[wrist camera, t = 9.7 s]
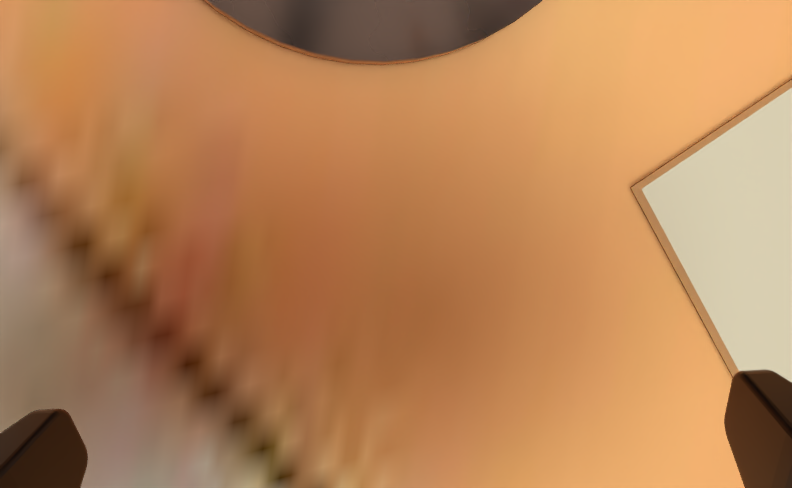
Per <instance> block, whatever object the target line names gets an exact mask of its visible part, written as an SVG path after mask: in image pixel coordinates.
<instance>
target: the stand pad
mask: <svg viewBox="0 0 792 488" xmlns="http://www.w3.org/2000/svg"><path fill="white" fill-rule="evenodd" d="M631 189H632V191H633V193H634V195H635V197H636V198H637V200H638V202H639V204H640V206H641V208H642V210H643V211H644V213H645V215H646V217H647V219H648V221H649V223H650V224H651V226H652V228H653V230H654V232H655V234H656V235H657V237H658V239H659V241H660V243H661V245H662V247H663V248H664V250H665V252H666V254H667V256H668V258H669V260H670V261H671V263H672V265H673V267H674V269H675V271H676V273H677V274H678V276H679V278H680V280H681V282H682V284H683V286H684V287H685V289H686V291H687V293H688V295H689V297H690V298H691V300H692V302H693V304H694V306H695V308H696V310H697V311H698V313H699V315H700V317H701V319H702V321H703V323H704V324H705V326H706V328H707V330H708V332H709V334H710V336H711V337H712V339H713V341H714V343H715V345H716V347H717V348H718V350H719V352H720V354H721V356H722V358H723V360H724V361H725V363H726V365H727V367H728V369H729V371H730V373H731V374H732V376H733V377H734V375H735V374H736V373H737V372H739V371H744V370H763V369H766V370H771V371H774V372H776V373H778V374H779V375H781V376H782V377H784V378H786V379H787V380H789V381H790V382H792V79H791V80H790V81H788V82H787V83H785V84H784V85H783V86H781V87H780V88H778V89H777V90H775V91H774V92H772V93H771V94H769V95H768V96H766V97H765V98H763V99H762V100H760V101H759V102H757V103H756V104H754V105H753V106H751V107H750V108H748V109H747V110H745V111H744V112H742V113H741V114H739V115H738V116H737V117H735V118H734V119H732V120H731V121H729V122H728V123H726V124H725V125H723V126H722V127H720V128H719V129H717V130H716V131H714V132H713V133H711V134H710V135H708V136H707V137H705V138H704V139H702V140H701V141H699V142H698V143H696V144H695V145H693V146H692V147H691V148H689V149H688V150H686V151H685V152H683V153H682V154H680V155H679V156H677V157H676V158H674V159H673V160H671V161H670V162H668V163H667V164H665V165H664V166H662V167H661V168H659V169H658V170H656V171H655V172H653V173H652V174H650V175H649V176H647V177H646V178H645V179H643V180H642V181H640V182H639V183H637V184H636V185H634V186H633V187H631Z"/></svg>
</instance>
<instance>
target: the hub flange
mask: <svg viewBox="0 0 792 488" xmlns="http://www.w3.org/2000/svg"><path fill="white" fill-rule="evenodd" d="M204 1H205V2H206V3H207V4H209V5H210V6H211V7H212V8H214V9H215V10H216V11H217V12H219V13H220V14H222V15H224V16H225V17H227V18H228V19H230V20H232V21H233V22H235V23H236V24H238V25H239V26H241V27H243V28H244V29H246V30H247V31H249V32H251V33H253V34H255V35H258V36H260V37H262V38H264V39H266V40H268V41H270V42H273V43H275V44H277V45H279V46H281V47H284V48H287V49H290V50H293V51H297V52H300V53H303V54H306V55H309V56H312V57H316V58H321V59H327V60H332V61H338V62H344V63H350V64H374V65H386V64H397V63H408V62H416V61H420V60H425V59H429V58H433V57H437V56H442V55H446V54H449V53H451V52H454V51H456V50H459V49H462V48H464V47H467V46H469V45H472V44H475V43H477V42H479V41H481V40H482V39H484V38H486V37H488V36H490V35H491V34H493V33H495V32H497V31H499V30H500V29H502V28H504V27H506V26H507V25H509V24H511V23H513V22H515V21H516V20H517V19H519V18H520V17H521V16H523V15H524V14H525V13H527V12H528V11H529V10H531V9H532V8H533V7H535V6H536V5H537V4H539V3H540V2H541V1H542V0H204Z"/></svg>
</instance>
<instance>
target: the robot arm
mask: <svg viewBox="0 0 792 488" xmlns="http://www.w3.org/2000/svg"><path fill="white" fill-rule="evenodd" d="M724 424H725V431H726V435H727V438H728V441H729V444H730V447H731V450H732V452H733V455H734V458H735V461H736V464H737V467H738V470H739V472H740V475H741V478H742V481H743V484H744V487H745V488H792V382H790V381H789V380H787V379H786V378H784V377H782V376H781V375H779V374H778V373H776V372H774V371H771V370H766V369H763V370H744V371H739V372H737V373H736V374H735V375H734V377H733V379H732V383H731V388H730V393H729V398H728V403H727V407H726V412H725V419H724ZM87 460H88V456H87V449H86V447H85V445H84V443H83V441H82V439H81V437H80V435H79V432H78V430H77V428H76V426H75V424H74V422H73V420H72V418H71V416H70V415H69V413H68V412H66V411H65V410H63V409H45V410H36V411H33V412H31V413H29V414H28V415H26V416H25V417H23V418H22V419H20V420H19V421H18V422H16V423H15V424H13V425H12V426H10V427H9V428H7V429H6V430H5V431H3V432H2V433H0V488H80V487H81V483H82V480H83V477H84V474H85V471H86V467H87Z"/></svg>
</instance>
